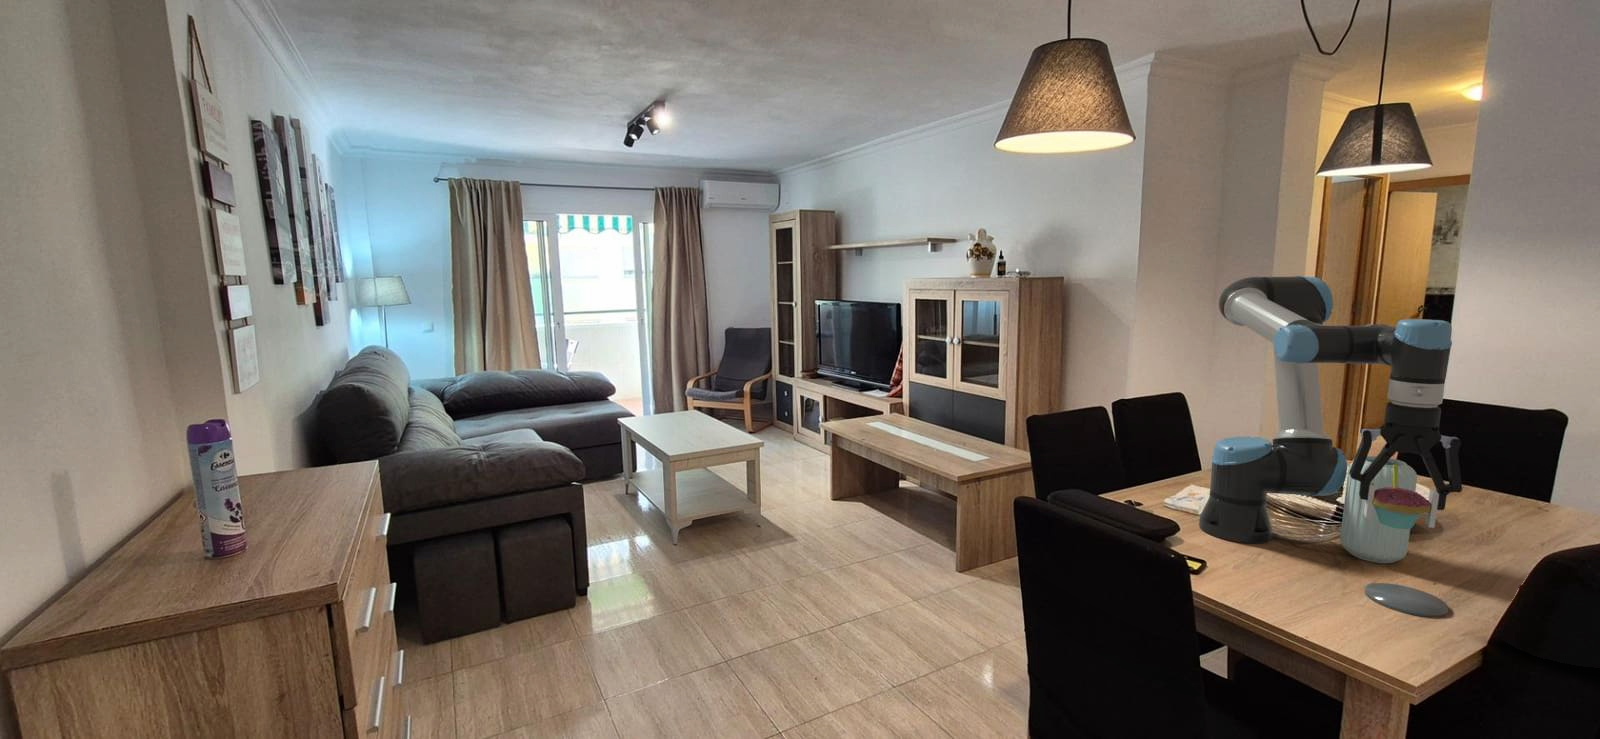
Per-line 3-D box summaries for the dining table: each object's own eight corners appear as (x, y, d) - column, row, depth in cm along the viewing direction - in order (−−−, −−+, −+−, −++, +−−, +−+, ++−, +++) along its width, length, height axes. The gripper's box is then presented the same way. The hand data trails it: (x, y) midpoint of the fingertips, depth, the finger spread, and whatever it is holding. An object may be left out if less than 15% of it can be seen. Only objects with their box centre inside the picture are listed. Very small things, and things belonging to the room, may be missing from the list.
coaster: (1372, 606, 128) (1372, 602, 128) (1359, 581, 138) (1359, 578, 138) (1457, 623, 122) (1457, 619, 122) (1436, 595, 132) (1437, 591, 132)
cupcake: (1355, 516, 130) (1362, 457, 128) (1396, 515, 131) (1405, 456, 129) (1395, 534, 122) (1404, 471, 120) (1440, 533, 122) (1449, 470, 120)
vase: (1406, 555, 150) (1419, 460, 147) (1404, 572, 142) (1417, 471, 139) (1341, 541, 158) (1352, 450, 155) (1335, 556, 150) (1347, 461, 147)
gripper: (1343, 401, 125) (1329, 516, 129) (1500, 413, 114) (1481, 539, 117) (1338, 394, 131) (1325, 504, 135) (1486, 405, 120) (1468, 525, 123)
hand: (1397, 520), depth 126 cm, fingers closed on cupcake, 8 cm apart
